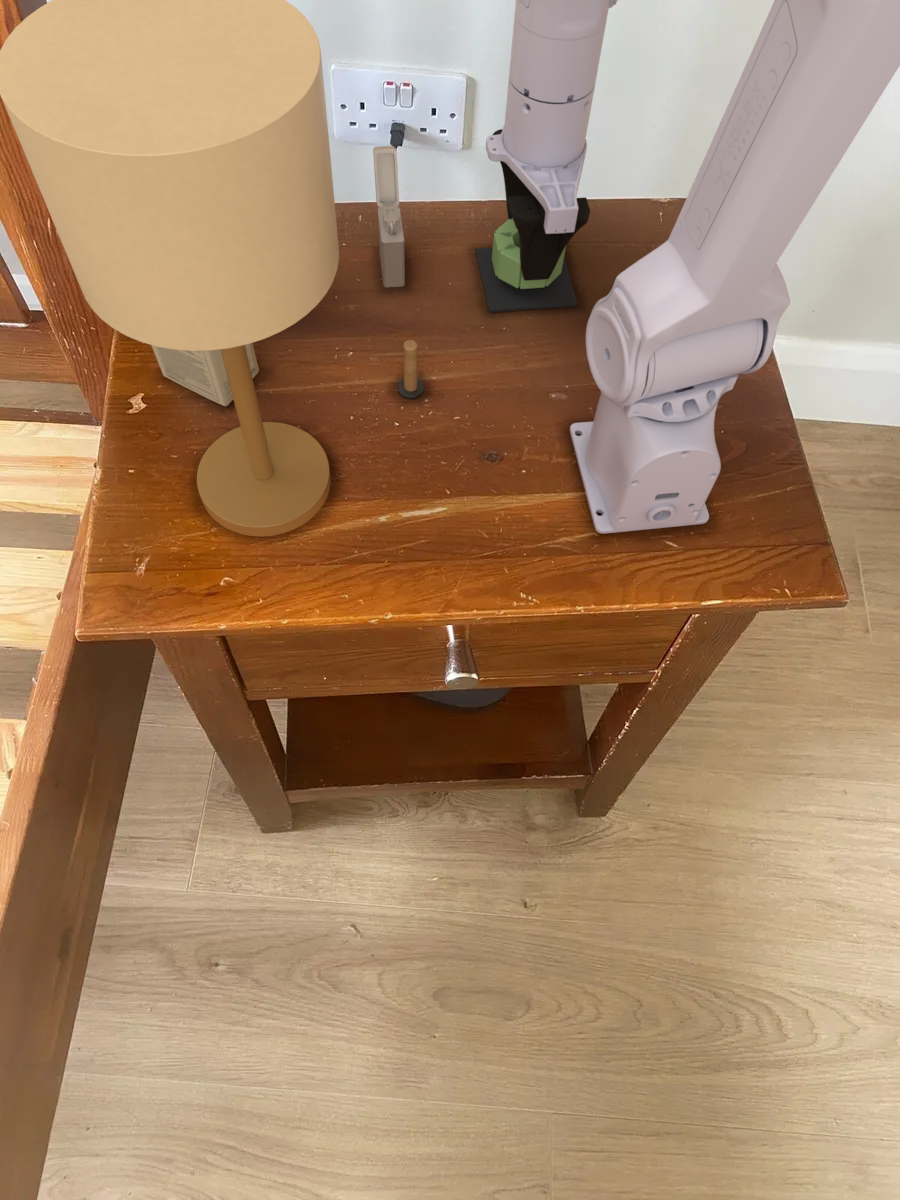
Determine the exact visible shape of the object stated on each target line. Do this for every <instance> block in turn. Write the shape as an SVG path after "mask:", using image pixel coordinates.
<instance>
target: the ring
mask: <svg viewBox="0 0 900 1200" xmlns="http://www.w3.org/2000/svg"><path fill="white" fill-rule="evenodd" d="M492 248H493V250H492V262H493V267H494V271H495V275H496V276H498V278H499V279H501V280H503V281H505V282H506V283H508V284H510V285H512V286H514V287H516V288H519V287H520V289H530V288H544V287H545V286H548V285H549V284H550V283H551V282H552V281H554V280H555V279H556V278H557V277H558V276H559V275H560V274H561V271H562V266H563V260H564V258H565V253H566V248H567V245H566V246H565V248H564V250H563V252H562V254H561V256H560V258H559V260H558V262H557V264H556V266H555V268H554V270H553V272H552V274H551V276H550V278H549V279H543V280H528V281H525V280H524V278H523V274H522V270H521V264H520V242H519V233H518V230H517V228H516V225H515V223H514V221H513V218H512V220H511V219H508V218H507V220H505V222H504V223H503V224H501V225H500V226H499V227H498V228H497V229H496V230H494V233H493V242H492Z"/></svg>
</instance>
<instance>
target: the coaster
mask: <svg viewBox="0 0 900 1200" xmlns="http://www.w3.org/2000/svg"><path fill="white" fill-rule="evenodd" d="M492 250H493V247H481V248H479V247H478V248H475V251H474V252H475V256H476V261H477V265H478V269H479V273H480V278H481V283H482V287H483V291H484V292H483V293H484V297H485V300H486V305H487V310H488V313H489V314H490V313H491V314H492V313H502V312H503V313H505V312H516V311H517V312H518V311H531V310H533V311H534V310H544V309H545V310H546V309H558V308H559V309H560V308H572V307H573V308H574V307H578V300H577V296H576V292H575V289H574V286H573V283H572V280H571V275H570V272H569V269H568V265H567V262H566V258H565V257H564V260H563V266H562V271H561V274H560V275H559V276H558V277H557V278H556V279H555V280H554V281H552V282H551V283H550V284H549V285H548V286H545V287H544V288H530V289H520V287H519V288H516V287H514V286H512V285H510V284H508V283H506V282H505V281H503V280H501V279H499V278H498V276H496V275H495V271H494V267H493V262H492Z"/></svg>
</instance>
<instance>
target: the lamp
mask: <svg viewBox="0 0 900 1200" xmlns="http://www.w3.org/2000/svg"><path fill="white" fill-rule="evenodd" d="M324 80H325V79H324V69H323V59H322V49H321V44H320V41H319V37H318V36H317V33H316V31H315V29H314V27H313V25H312V24H311V23H310V21H309V20H308V18H307V17H306V16H305V15H304V14H303V13H302V12H301V11H300V10H299V9H298V8H297V7H296V6H294V5H293V4H291V3H290V2H289V1H288V0H50V1H49V2H47V3H45V4H44V5H42V6H40V7H39V8H37V9H36V10H34V11H33V12H32V13H30V14H29V15H28V16H26V17H25V18H24V19H23V20H21V22H20V23H19V24H18V25H17V26H16V27H15V28H14V29H13V30H12V31H11V33H10V34H9V35H8V36H7V38H6V39H5V40H4V43H3V45H2V46H1V48H0V97H1V100H2V103H3V105H4V107H5V110H6V112H7V115H8V117H9V119H10V122H11V124H12V127H13V129H14V131H15V133H16V135H17V138H18V141H19V142H20V146H21V148H22V151H23V153H24V155H25V157H26V160H27V163H28V165H29V167H30V169H31V172H32V174H33V177H34V179H35V181H36V184H37V187H38V189H39V191H40V194H41V196H42V198H43V201H44V203H45V206H46V208H47V210H48V213H49V215H50V217H51V220H52V222H53V225H54V228H55V230H56V232H57V234H58V237H59V240H60V242H61V244H62V246H63V249H64V252H65V254H66V257H67V259H68V261H69V264H70V266H71V269H72V270H73V273H74V276H75V278H76V281H77V283H78V285H79V288H80V290H81V292H82V294H83V297H84V299H85V301H86V302H87V304H88V305H89V307H90V309H91V310H92V311H93V312H94V313H95V314H96V315H97V316H98V317H99V318H100V319H101V320H102V321H103V322H104V323H106V324H107V325H108V326H109V327H111V328H112V329H113V330H115V331H117V332H119V333H120V334H122V335H124V336H126V337H128V338H131V339H133V340H135V341H137V342H140V343H142V344H143V343H144V344H147V345H149V346H152V345H153V346H157V347H162V348H168V349H174V350H186V351H210V350H219V349H220V350H221V354H222V358H223V362H224V365H225V369H226V373H227V377H228V381H229V384H230V388H231V392H232V396H233V400H232V401H233V403H234V408H235V411H236V414H237V418H238V424H239V426H238V427H235V428H233V429H231V430H229V431H227V432H226V433H224V434H222V435H221V436H219V438H217V439H216V440H214V442H213V443H212V444H211V445H209V446H208V448H207V449H206V450H205V452H204V453H203V455H202V457H201V459H200V461H199V464H198V467H197V471H196V487H197V491H198V494H199V497H200V500H201V502H202V505H203V507H204V509H205V510H206V512H207V513H208V515H209V516H210V517H211V519H212V520H214V521H215V522H216V523H217V524H219V525H220V526H221V527H223V528H225V529H227V530H229V531H231V532H233V533H236V534H239V535H241V536H242V535H243V536H249V537H256V538H257V537H272V536H273V537H274V536H278V535H283V534H286V533H289V532H291V531H294V530H296V529H298V528H300V527H302V526H304V525H305V524H306V523H308V522H309V521H310V520H312V518H314V517H315V516H316V515H317V514H318V513H319V512H320V511H321V509H322V507H323V506H324V505H325V503H326V501H327V499H328V497H329V493H330V491H331V484H332V476H331V468H330V463H329V459H328V455H327V453H326V451H325V450H324V448H323V446H322V445H321V444H320V442H319V441H318V440H317V439H315V437H314V436H312V435H311V434H310V433H309V432H307V431H305V430H304V429H301V428H299V427H297V426H296V425H295V426H294V425H291V424H289V423H283V422H277V421H263V418H262V414H261V409H260V406H259V400H258V397H257V392H256V388H255V383H254V378H252V374H251V370H250V365H249V361H248V356H247V352H246V348H245V345H247V344H250V343H253V344H254V343H256V342H259V341H263V340H266V339H267V338H270V337H272V336H274V335H276V334H279V333H282V332H284V331H285V330H287V329H288V328H290V327H292V326H293V325H295V324H296V323H298V322H299V321H301V320H303V318H305V317H306V316H307V315H308V314H310V312H311V311H312V310H314V309H315V308H316V307H317V306H318V305H319V304H320V302H322V300H323V298H324V297H325V296H326V295H327V293H328V291H329V290H330V288H331V286H332V284H333V282H334V281H335V277H336V275H337V271H338V266H339V263H340V246H339V245H340V244H339V236H338V224H337V223H338V222H337V213H336V203H335V202H336V201H335V192H334V191H335V190H334V180H333V169H332V158H331V148H330V138H329V137H330V136H329V125H328V113H327V103H326V92H325V81H324Z"/></svg>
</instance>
